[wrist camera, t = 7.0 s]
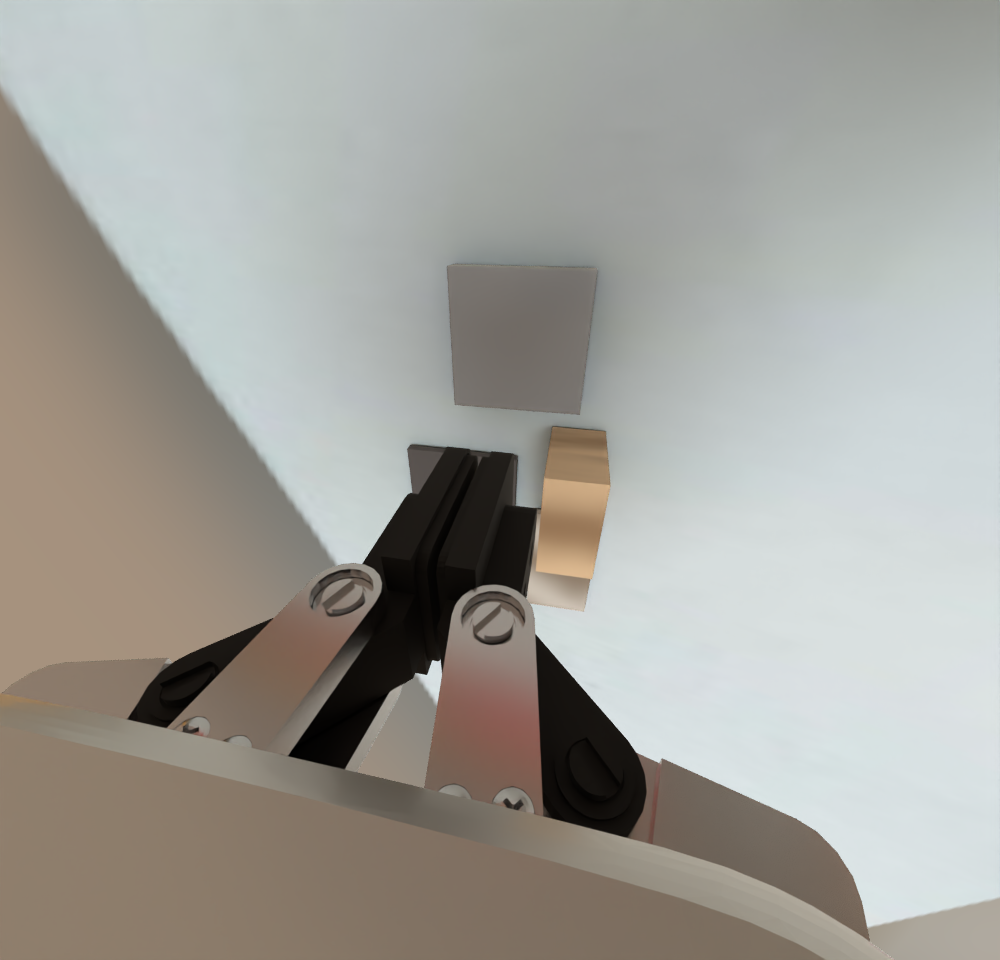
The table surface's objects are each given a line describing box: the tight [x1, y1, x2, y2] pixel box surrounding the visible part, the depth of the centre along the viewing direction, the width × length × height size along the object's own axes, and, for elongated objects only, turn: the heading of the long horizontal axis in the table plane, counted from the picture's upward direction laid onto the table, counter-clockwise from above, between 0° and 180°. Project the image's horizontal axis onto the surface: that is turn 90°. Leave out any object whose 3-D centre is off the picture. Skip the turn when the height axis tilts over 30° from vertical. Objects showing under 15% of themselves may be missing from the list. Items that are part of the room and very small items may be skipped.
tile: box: [447, 264, 598, 415], centre depth 24 cm, size 8×2×8 cm
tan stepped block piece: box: [527, 427, 610, 612], centre depth 29 cm, size 17×5×6 cm, turn 179°
